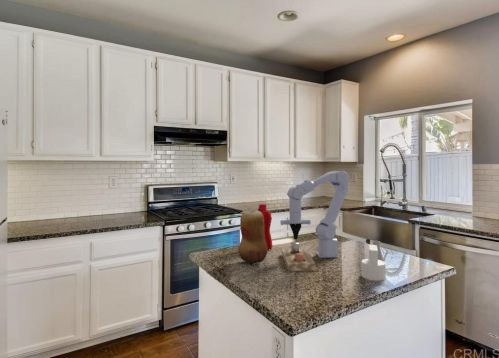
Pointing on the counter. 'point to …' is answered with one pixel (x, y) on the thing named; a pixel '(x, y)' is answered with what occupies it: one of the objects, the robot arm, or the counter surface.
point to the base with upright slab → (373, 265)
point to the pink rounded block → (299, 257)
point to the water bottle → (266, 224)
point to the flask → (379, 250)
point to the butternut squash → (252, 237)
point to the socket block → (298, 265)
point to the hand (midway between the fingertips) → (295, 239)
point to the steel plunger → (295, 247)
